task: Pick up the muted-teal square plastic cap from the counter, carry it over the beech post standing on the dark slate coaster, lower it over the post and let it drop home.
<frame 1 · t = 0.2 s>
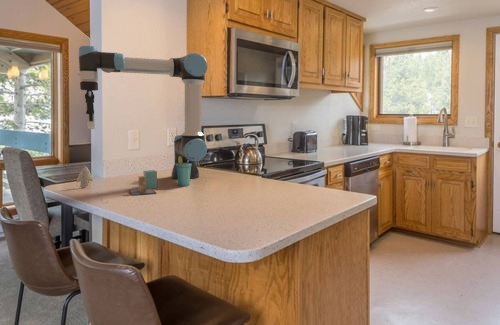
hand: (90, 128, 180), 28 cm above the table, fingers open, 13 cm apart
cup: (185, 186, 190), on the table
post: (142, 192, 172), on the table
cap: (150, 187, 186), on the table
arrowhead: (85, 188, 182), on the table
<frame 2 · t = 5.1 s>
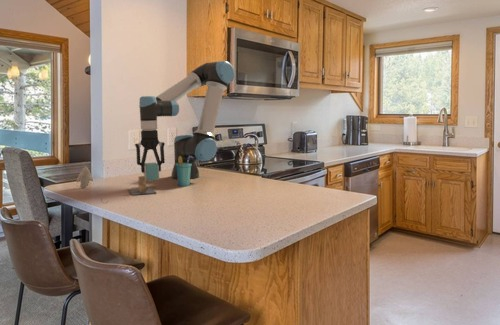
hand: (151, 178, 186), 4 cm above the table, fingers closed on cap, 5 cm apart
cap: (151, 179, 186), point 4 cm above the table, touching gripper
everything else where it was.
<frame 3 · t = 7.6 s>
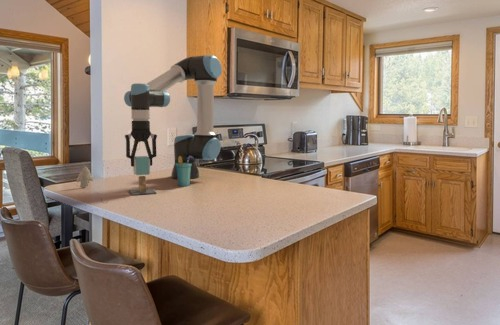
hand: (141, 173, 171), 9 cm above the table, fingers closed on cap, 5 cm apart
cap: (141, 174, 171), point 8 cm above the table, touching gripper
everything else where it was.
when the fingers open (2 cm above the table, at t = 10.0 s): cap stays where it is, resting on post.
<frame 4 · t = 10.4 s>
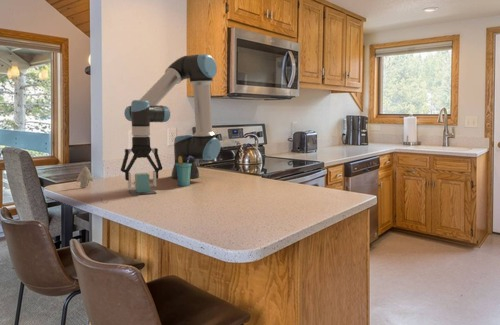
hand: (142, 186, 172), 3 cm above the table, fingers open, 10 cm apart
cap: (142, 191, 172), point 1 cm above the table, touching post
everything else where it was.
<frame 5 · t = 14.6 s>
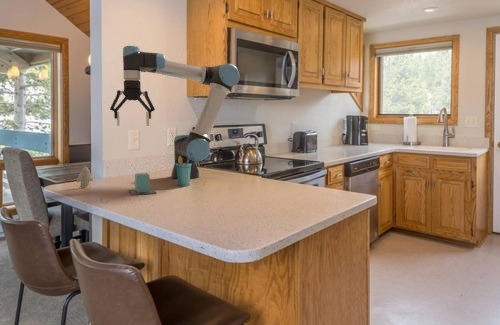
hand: (133, 125, 186), 29 cm above the table, fingers open, 13 cm apart
nothing on the table moved.
at the end: cap 0.1 cm from the post (horizontally); cap point 0.6 cm above the table; the gripper is holding nothing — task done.
